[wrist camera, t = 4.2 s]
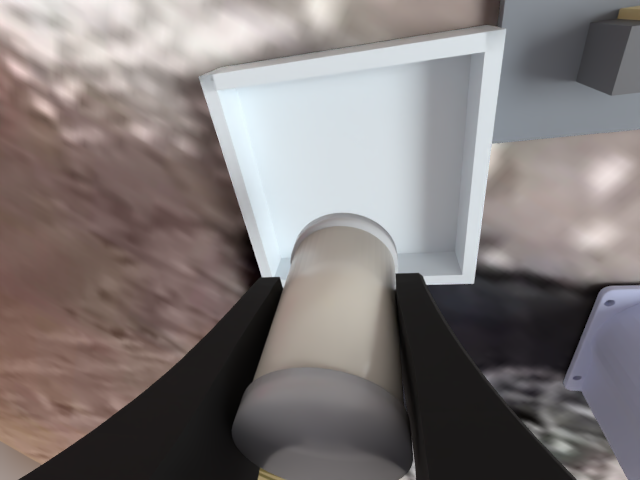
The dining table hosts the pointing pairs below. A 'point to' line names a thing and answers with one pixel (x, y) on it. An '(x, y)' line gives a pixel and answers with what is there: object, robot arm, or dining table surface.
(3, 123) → the dining table surface
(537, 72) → the fuse panel
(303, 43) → the dining table surface
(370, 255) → the fuse
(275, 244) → the parts tray
